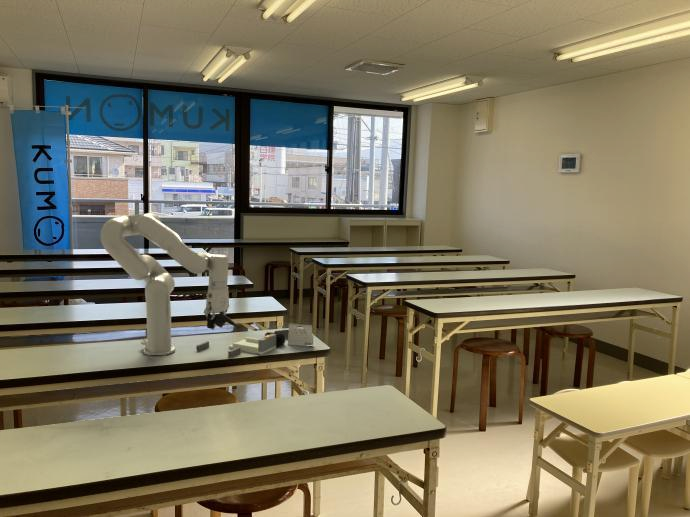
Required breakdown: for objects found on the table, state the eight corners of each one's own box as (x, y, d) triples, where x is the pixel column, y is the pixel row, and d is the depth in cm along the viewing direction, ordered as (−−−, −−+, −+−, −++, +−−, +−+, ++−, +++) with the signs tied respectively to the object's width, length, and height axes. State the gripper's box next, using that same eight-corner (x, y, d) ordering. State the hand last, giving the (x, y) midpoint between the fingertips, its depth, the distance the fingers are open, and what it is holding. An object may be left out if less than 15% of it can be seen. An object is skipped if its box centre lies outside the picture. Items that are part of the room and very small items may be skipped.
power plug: (241, 328, 241) (218, 312, 236) (230, 342, 240) (207, 327, 236) (239, 324, 246) (217, 308, 241) (228, 338, 245) (205, 323, 241)
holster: (196, 350, 243) (196, 345, 242) (206, 346, 249) (206, 341, 249) (230, 357, 236) (230, 351, 235) (240, 353, 242) (240, 347, 241)
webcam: (285, 345, 256) (286, 332, 255) (278, 348, 250) (278, 335, 250) (269, 341, 260) (269, 329, 259) (261, 345, 255) (261, 332, 254)
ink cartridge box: (289, 343, 258) (289, 322, 257) (313, 345, 256) (314, 324, 255) (287, 345, 255) (288, 323, 254) (312, 347, 253) (312, 325, 252)
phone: (288, 329, 278) (303, 336, 266) (288, 331, 279) (303, 338, 266) (273, 331, 274) (288, 337, 262) (273, 333, 274) (288, 340, 262)
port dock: (228, 348, 248) (228, 333, 247) (243, 341, 258) (243, 327, 257) (262, 354, 241) (262, 339, 240) (276, 347, 251) (276, 333, 250)
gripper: (212, 288, 229) (210, 332, 231) (237, 282, 244) (235, 323, 247) (197, 286, 232) (195, 329, 234) (223, 280, 247) (221, 320, 250)
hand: (216, 326), depth 240 cm, fingers closed on power plug, 6 cm apart
